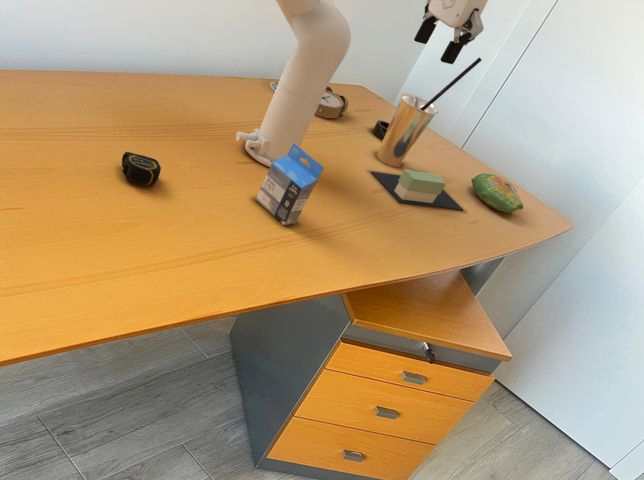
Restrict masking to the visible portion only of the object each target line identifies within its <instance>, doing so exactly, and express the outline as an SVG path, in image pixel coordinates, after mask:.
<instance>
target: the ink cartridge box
mask: <svg viewBox="0 0 644 480" xmlns="http://www.w3.org/2000/svg"><path fill="white" fill-rule="evenodd" d="M301 158H302V159H303V160H306V162H307V163H308V164H309V166H308V165H307V164H306V163H305V162H303V161H302V160H301ZM324 169H325V167H324V166H323V165H322V164H321V163H319V162H318V161H317V160H316V159H314V158H313V157H312V156H310V154H308V153H307V152H306V151H304V149H302V148H301V147H298V146H297V145H296V144H295V143H293V145H292V147H291V149H290V151H289V153H288V154H287V155H285V156H284V157H282V158H280V159H278V160H276V161H274V162H273V163H271V166H270V167H268V170H267V172H266V175H265V178H264V179H263V182H262V184H261V186H260V188H259V191H258V193H257V195H256V198H255V201H256V202H258V204H260V206H262V207H263V208H264V209H265V210H266V211H267V212H269V214H271V215H272V216H273V217H274V218H275V219H276V220H278V221H279V222H280V223H281V224H282V225H283V226H289V225H295V224H296V223H297V221H298V220H299V218H300V216H301V213H302V212H303V210H304V208H305V206H306V204H307V202H308V200H309V198H310V197H311V194H312V192H313V190H314V188H315V186H316V184H317V182H318V180H319V178H320V176H321V175H322V172H323V170H324Z"/></svg>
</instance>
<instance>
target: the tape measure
mask: <svg viewBox="0 0 644 480" xmlns="http://www.w3.org/2000/svg"><path fill="white" fill-rule="evenodd" d="M121 167H122V174H123V175H124V177H125V178H126V179H127V180H129V181H131V182H133V183H135V184H138V185H141V186H142V185H143V186H152V185H155V184H156V183H157V182H158V180H159V177H160V174H161V169H162V167H161V165H160V163H159V161H158V160H157V159H155V158H153V157H150V156H146V155H142V154H138V153H134V152H129V151H125V152H124V153H123V154H122V157H121Z"/></svg>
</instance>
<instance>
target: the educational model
mask: <svg viewBox="0 0 644 480" xmlns="http://www.w3.org/2000/svg"><path fill="white" fill-rule="evenodd" d="M470 180H471V185H472V189H473V191H474V193H475V194H476V195H477V197H479V199H481V201H482V202H484V203H485V204H486V205H487V206H489V207H491V208H493V209H494V210H497V211H500V212H503V213H508V214H511V213H515V212H516V211H518V210H523V209H524V204H523V202H522V199H521V197H520V196H519V194H518V191H517V189H516V188H515V186H513V184H512V183H511V182H509V181H508V180H506V179H505V178H503V177H500V176H499V175H496V174H492V173H486V172H484V173H479V174H477V175H475V176H474V177H473V178H471V179H470Z"/></svg>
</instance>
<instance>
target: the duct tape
mask: <svg viewBox="0 0 644 480" xmlns="http://www.w3.org/2000/svg"><path fill="white" fill-rule="evenodd" d="M389 124H390V122H388V121H385V120H379V119H378V120H377V121H376V123H375V125H374V127H373V129H372V131H371V133H372V134H373V135H374V136H375V137H376V138H378V139H380V140H382V141H383V139H384V137H385V134H386V132H387V129H388V127H389Z"/></svg>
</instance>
